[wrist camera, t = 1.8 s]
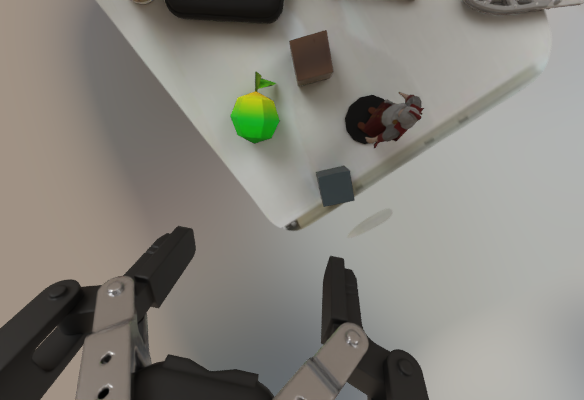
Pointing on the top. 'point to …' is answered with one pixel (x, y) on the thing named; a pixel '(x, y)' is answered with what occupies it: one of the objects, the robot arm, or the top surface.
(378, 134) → the figurine
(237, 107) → the apple
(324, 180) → the slate block
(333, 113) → the top surface
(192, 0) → the carrying case
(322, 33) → the walnut block
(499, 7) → the knife
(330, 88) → the top surface
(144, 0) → the pill bottle
